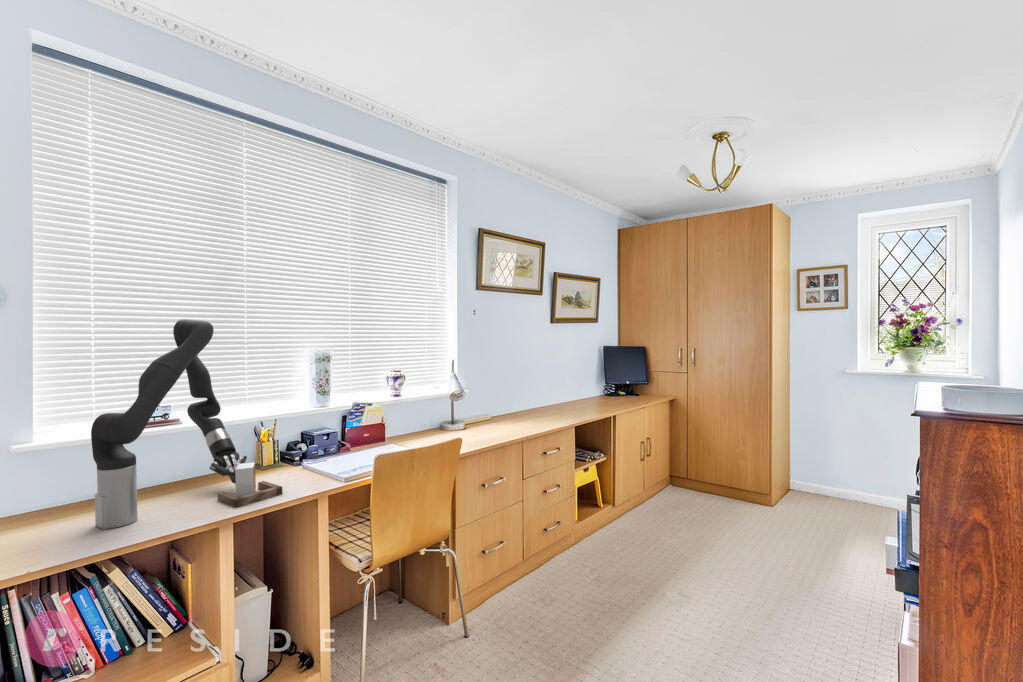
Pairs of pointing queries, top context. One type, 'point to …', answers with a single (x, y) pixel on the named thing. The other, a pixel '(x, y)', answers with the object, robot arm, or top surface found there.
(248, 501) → the walnut bay
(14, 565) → the top surface
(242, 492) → the small box
